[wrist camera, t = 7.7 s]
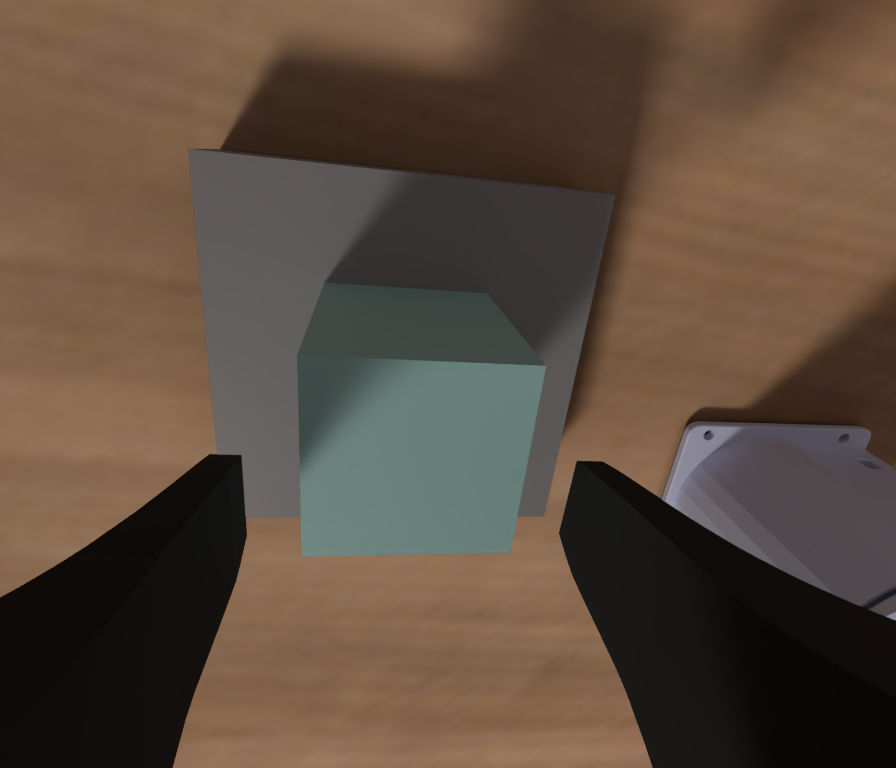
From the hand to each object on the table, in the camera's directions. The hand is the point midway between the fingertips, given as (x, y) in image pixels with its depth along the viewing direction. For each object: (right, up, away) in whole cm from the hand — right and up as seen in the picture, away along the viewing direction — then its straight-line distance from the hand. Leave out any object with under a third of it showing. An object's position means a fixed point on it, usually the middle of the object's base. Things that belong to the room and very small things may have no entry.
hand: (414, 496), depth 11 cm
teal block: (-1, +3, +6) cm, 6 cm away
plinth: (-1, +4, +8) cm, 9 cm away
